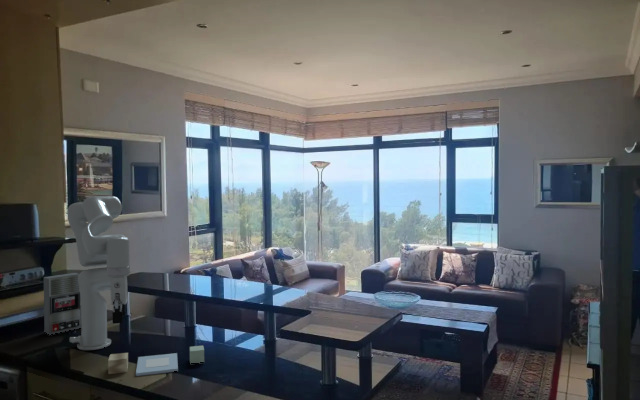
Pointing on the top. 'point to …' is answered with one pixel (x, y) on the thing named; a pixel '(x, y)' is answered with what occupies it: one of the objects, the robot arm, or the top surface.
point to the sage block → (196, 354)
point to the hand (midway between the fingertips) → (119, 319)
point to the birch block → (118, 363)
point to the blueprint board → (157, 364)
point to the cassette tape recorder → (62, 303)
